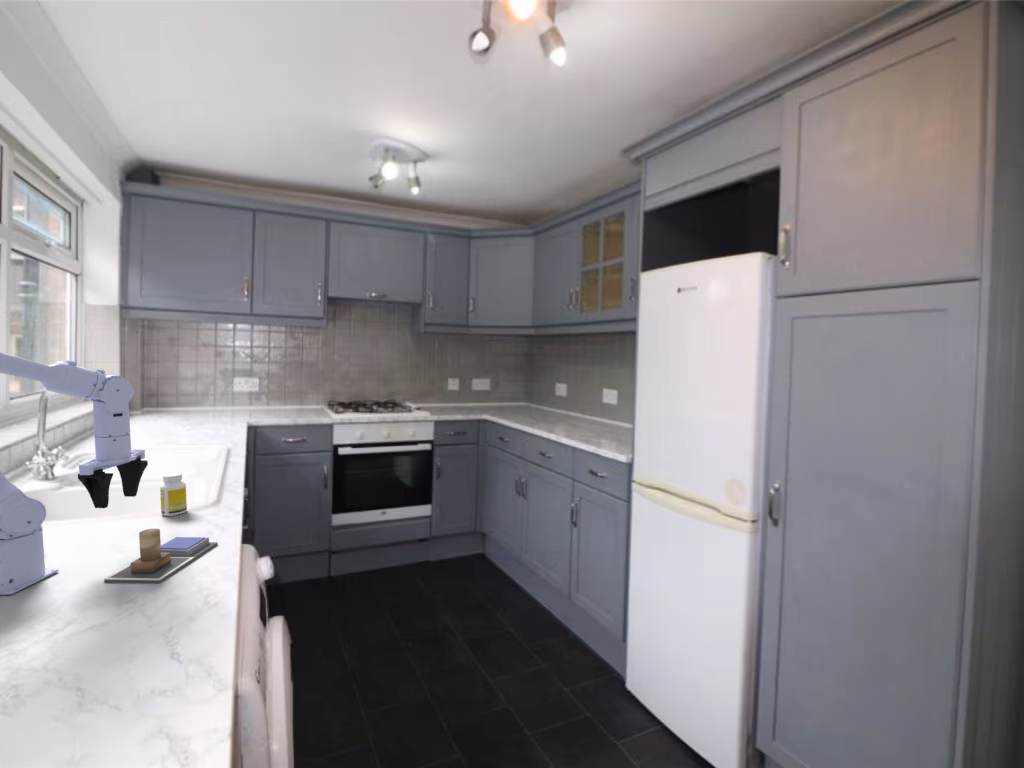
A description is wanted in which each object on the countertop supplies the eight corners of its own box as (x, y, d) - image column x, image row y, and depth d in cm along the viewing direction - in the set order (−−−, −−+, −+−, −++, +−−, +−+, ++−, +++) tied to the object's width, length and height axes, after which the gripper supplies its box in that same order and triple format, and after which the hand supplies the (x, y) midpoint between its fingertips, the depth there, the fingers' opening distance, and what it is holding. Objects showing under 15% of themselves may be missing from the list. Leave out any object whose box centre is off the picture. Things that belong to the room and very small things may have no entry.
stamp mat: (159, 583, 94) (159, 572, 94) (104, 582, 95) (103, 571, 95) (217, 544, 112) (217, 535, 112) (170, 544, 113) (170, 535, 112)
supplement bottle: (192, 510, 135) (190, 472, 134) (176, 517, 130) (174, 477, 129) (172, 509, 136) (170, 471, 135) (155, 516, 130) (154, 476, 130)
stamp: (152, 574, 97) (150, 536, 96) (131, 573, 97) (129, 536, 97) (170, 562, 102) (169, 527, 101) (150, 562, 102) (148, 526, 101)
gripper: (103, 442, 99) (107, 513, 100) (157, 429, 113) (160, 491, 115) (66, 441, 99) (70, 512, 100) (125, 428, 114) (128, 491, 115)
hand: (116, 501), depth 107 cm, fingers open, 7 cm apart
